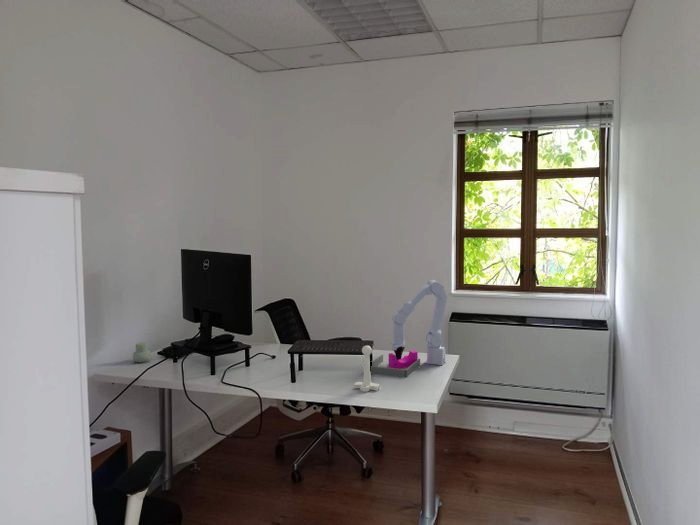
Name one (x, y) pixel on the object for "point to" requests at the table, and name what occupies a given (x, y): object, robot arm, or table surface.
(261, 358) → the table surface
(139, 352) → the air freshener
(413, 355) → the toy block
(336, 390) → the table surface
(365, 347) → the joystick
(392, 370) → the grey tray
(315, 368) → the table surface
